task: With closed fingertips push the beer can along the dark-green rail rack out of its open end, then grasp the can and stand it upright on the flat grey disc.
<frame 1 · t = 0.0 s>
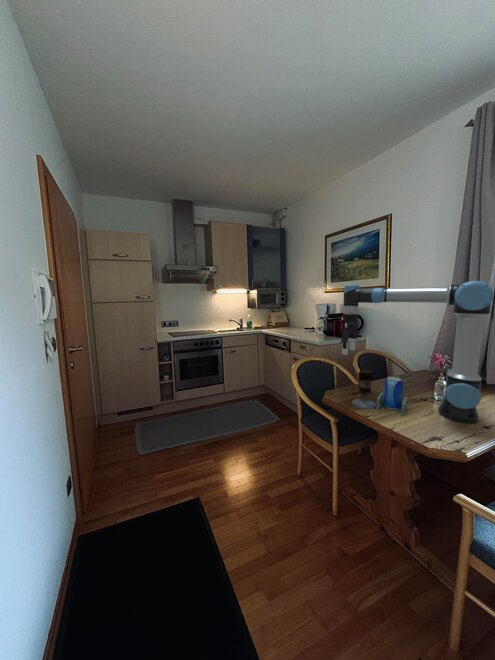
hand: (348, 352, 142), 28 cm above the table, fingers open, 13 cm apart
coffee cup: (364, 392, 158), on the table
beer can: (392, 408, 136), resting in rack
flat grey disc: (363, 404, 141), on the table
rack: (391, 408, 135), on the table
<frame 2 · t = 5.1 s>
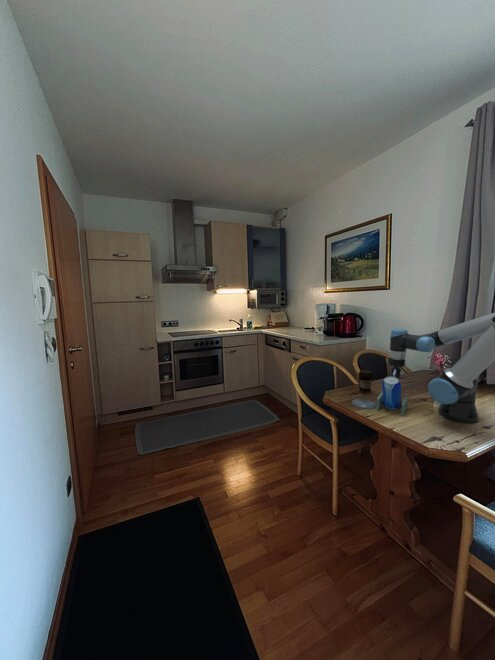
hand: (393, 400, 140), 2 cm above the table, fingers closed
beer can: (392, 405, 136), point 1 cm above the table, touching gripper, hand
everything else where it was.
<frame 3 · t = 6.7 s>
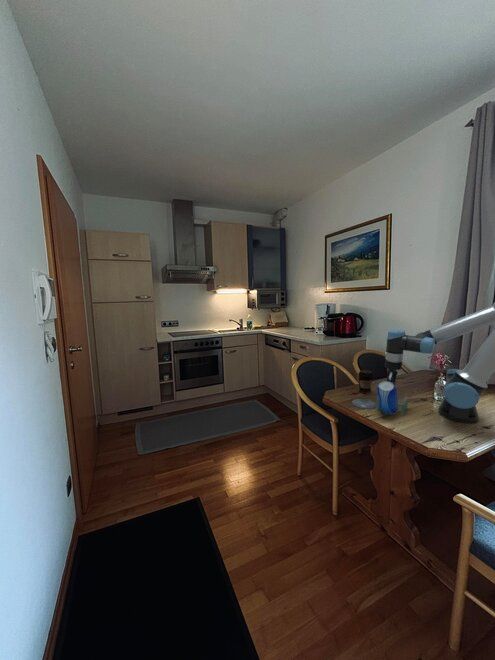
hand: (389, 404, 134), 3 cm above the table, fingers closed
beer can: (389, 409, 131), point 2 cm above the table, touching gripper, hand
everything else where it was.
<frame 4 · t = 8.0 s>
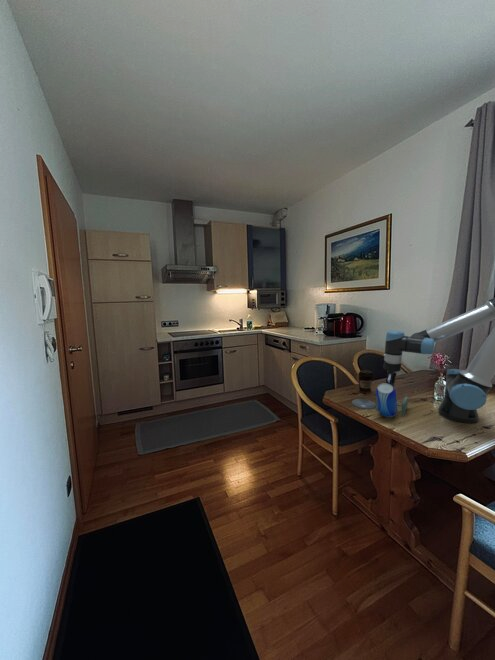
hand: (388, 406, 131), 3 cm above the table, fingers closed
beer can: (388, 412, 128), point 2 cm above the table, touching gripper, hand
everything else where it was.
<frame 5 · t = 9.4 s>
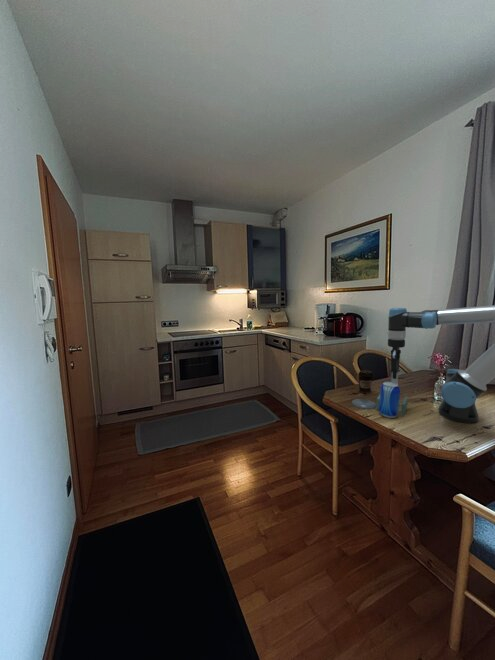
hand: (394, 384, 132), 14 cm above the table, fingers closed
beer can: (388, 415, 129), on the table
everything else where it was.
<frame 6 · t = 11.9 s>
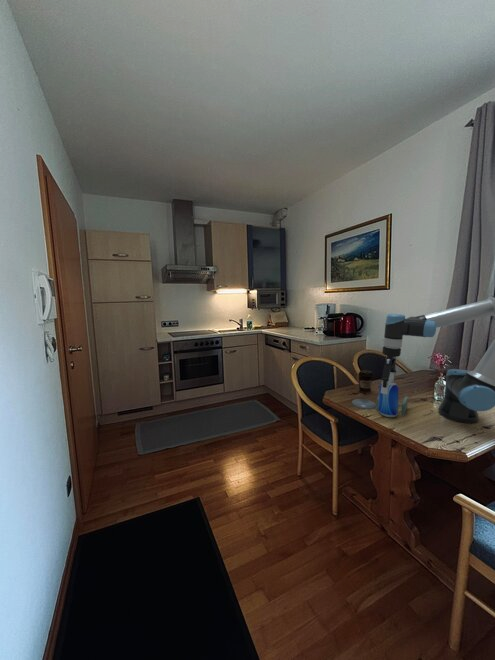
hand: (386, 389, 125), 14 cm above the table, fingers open, 13 cm apart
beer can: (388, 414, 129), on the table, touching gripper
everything else where it was.
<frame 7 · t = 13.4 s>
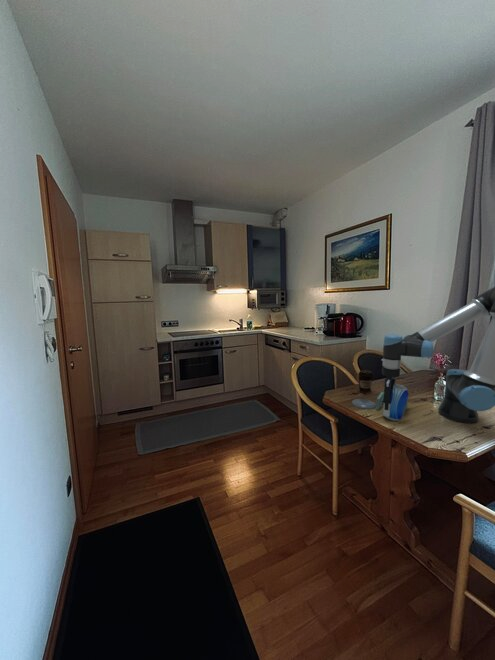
hand: (388, 412, 126), 2 cm above the table, fingers closed on beer can, 8 cm apart
beer can: (391, 417, 125), on the table, touching gripper
everything else where it was.
when the fingers open (5 cm above the table, at t = 19.0 s): beer can drops 2 cm, resting on flat grey disc.
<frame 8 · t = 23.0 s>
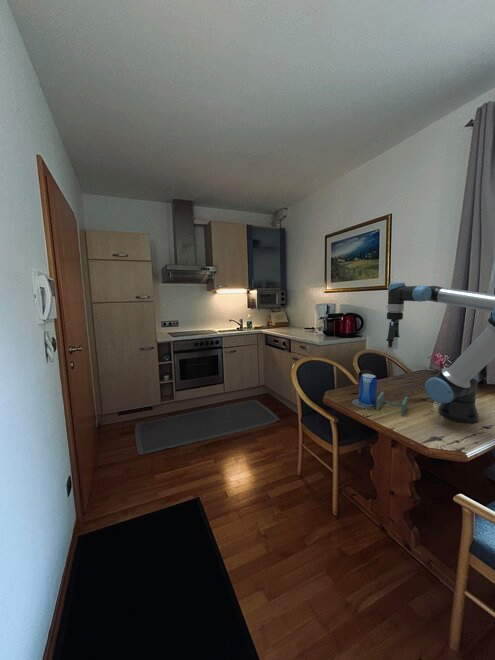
hand: (392, 350, 141), 29 cm above the table, fingers open, 13 cm apart
beer can: (366, 404, 140), resting on flat grey disc
everything else where it was.
at the end: beer can 1.6 cm from the flat grey disc (horizontally); beer can tilted 0°; the gripper is holding nothing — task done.
